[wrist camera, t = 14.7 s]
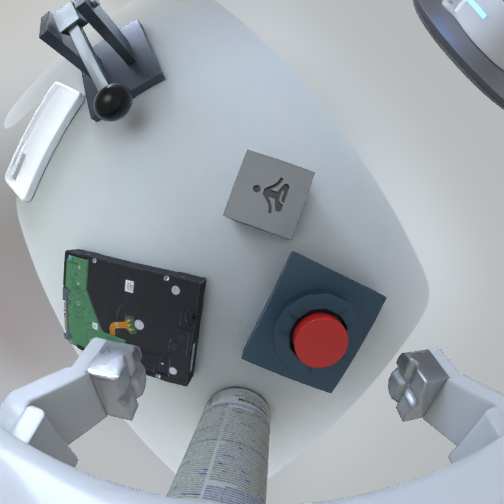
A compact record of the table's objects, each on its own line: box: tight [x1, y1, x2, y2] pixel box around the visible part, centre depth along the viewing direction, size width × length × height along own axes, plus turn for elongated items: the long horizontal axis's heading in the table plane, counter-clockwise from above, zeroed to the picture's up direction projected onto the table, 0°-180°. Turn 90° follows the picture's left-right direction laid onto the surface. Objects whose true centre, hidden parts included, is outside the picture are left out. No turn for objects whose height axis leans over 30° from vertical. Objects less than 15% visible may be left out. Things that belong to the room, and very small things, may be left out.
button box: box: [242, 251, 386, 393], centre depth 22 cm, size 10×9×4 cm
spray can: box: [167, 388, 270, 504], centre depth 15 cm, size 7×7×20 cm
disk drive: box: [63, 249, 206, 386], centre depth 24 cm, size 10×3×15 cm
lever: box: [52, 1, 132, 122], centre depth 16 cm, size 14×4×4 cm
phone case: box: [5, 82, 85, 202], centre depth 24 cm, size 7×1×15 cm
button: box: [293, 312, 348, 368], centre depth 20 cm, size 4×4×2 cm
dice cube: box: [223, 150, 315, 240], centre depth 21 cm, size 5×5×5 cm
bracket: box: [39, 0, 165, 122], centre depth 18 cm, size 12×9×13 cm
